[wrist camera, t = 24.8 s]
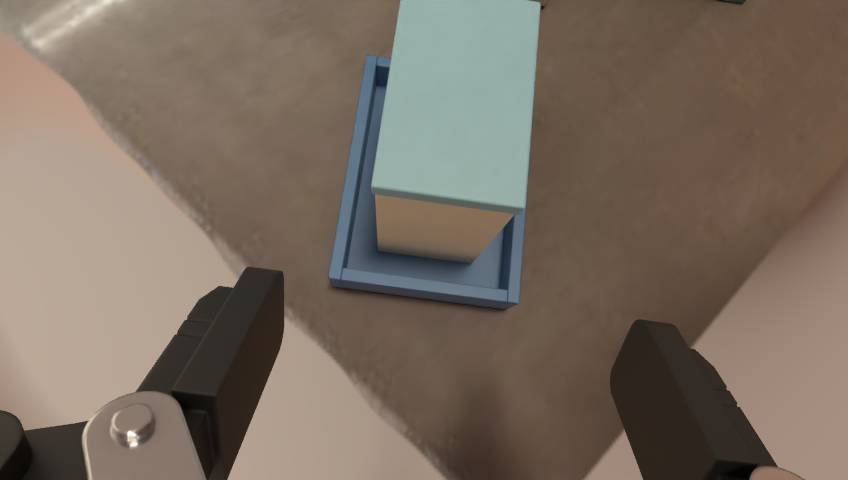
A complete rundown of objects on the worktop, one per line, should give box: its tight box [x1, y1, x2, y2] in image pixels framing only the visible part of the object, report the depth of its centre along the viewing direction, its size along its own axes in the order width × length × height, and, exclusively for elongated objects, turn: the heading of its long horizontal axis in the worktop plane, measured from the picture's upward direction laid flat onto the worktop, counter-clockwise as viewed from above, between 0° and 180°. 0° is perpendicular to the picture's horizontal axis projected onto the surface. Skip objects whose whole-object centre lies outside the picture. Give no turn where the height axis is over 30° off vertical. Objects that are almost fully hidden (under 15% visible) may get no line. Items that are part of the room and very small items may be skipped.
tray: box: [328, 55, 536, 309], centre depth 26 cm, size 9×12×3 cm
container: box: [371, 0, 541, 264], centre depth 22 cm, size 5×8×10 cm, turn 173°
